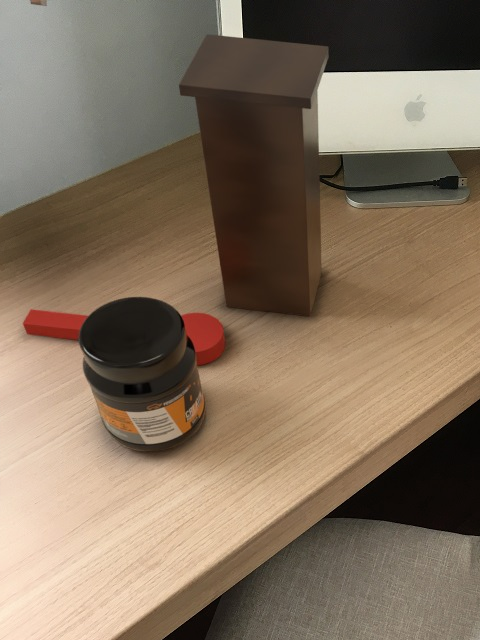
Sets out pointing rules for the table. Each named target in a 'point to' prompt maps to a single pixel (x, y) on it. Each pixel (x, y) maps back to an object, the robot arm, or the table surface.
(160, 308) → the supplement container
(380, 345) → the table surface
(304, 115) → the walnut stand
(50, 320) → the red serving spoon
